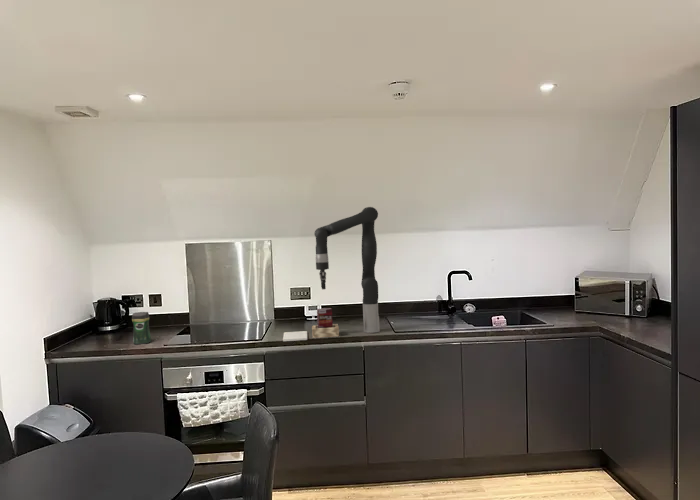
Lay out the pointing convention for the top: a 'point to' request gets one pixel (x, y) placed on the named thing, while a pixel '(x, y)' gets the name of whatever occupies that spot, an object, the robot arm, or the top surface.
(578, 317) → the top surface
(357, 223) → the robot arm
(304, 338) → the white flat slab
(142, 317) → the coffee jar
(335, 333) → the birch caddy
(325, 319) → the supplement box
